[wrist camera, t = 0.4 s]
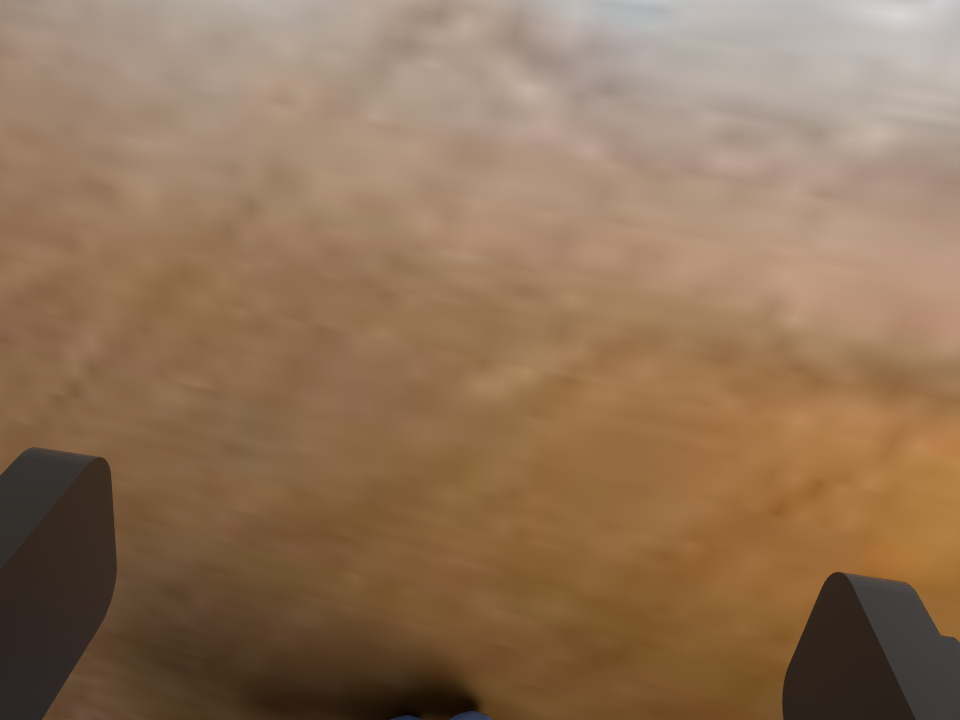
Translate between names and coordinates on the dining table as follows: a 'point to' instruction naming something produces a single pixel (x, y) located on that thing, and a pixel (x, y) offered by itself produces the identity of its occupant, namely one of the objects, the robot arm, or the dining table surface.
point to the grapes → (462, 719)
